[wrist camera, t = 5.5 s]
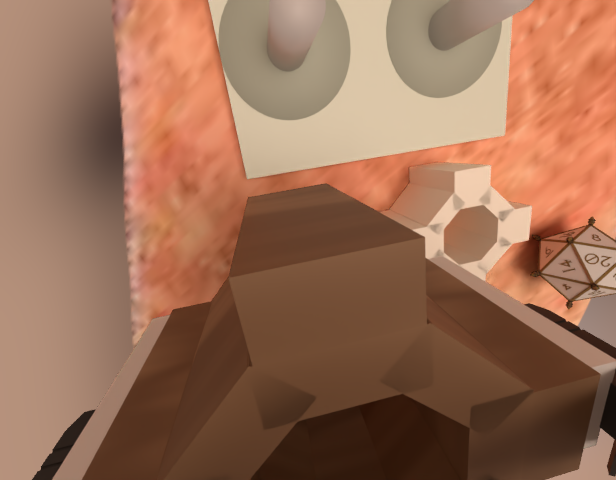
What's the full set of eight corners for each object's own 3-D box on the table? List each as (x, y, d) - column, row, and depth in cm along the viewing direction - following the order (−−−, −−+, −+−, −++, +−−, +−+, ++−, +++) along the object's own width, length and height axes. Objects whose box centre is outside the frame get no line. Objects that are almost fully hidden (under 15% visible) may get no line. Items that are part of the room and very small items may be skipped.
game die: (505, 251, 37) (514, 296, 29) (554, 195, 32) (581, 231, 25) (579, 286, 35) (610, 344, 27) (644, 231, 30) (704, 282, 22)
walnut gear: (425, 377, 15) (557, 559, 8) (217, 431, 14) (177, 690, 7) (421, 166, 11) (643, 192, 5) (139, 216, 10) (-76, 340, 4)
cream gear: (470, 254, 32) (524, 281, 26) (379, 274, 31) (411, 307, 24) (473, 155, 29) (536, 156, 22) (371, 173, 28) (405, 180, 21)
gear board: (488, 136, 28) (585, 130, 20) (248, 177, 26) (241, 189, 17) (500, -135, 22) (650, -314, 14) (185, -115, 20) (127, -317, 11)
